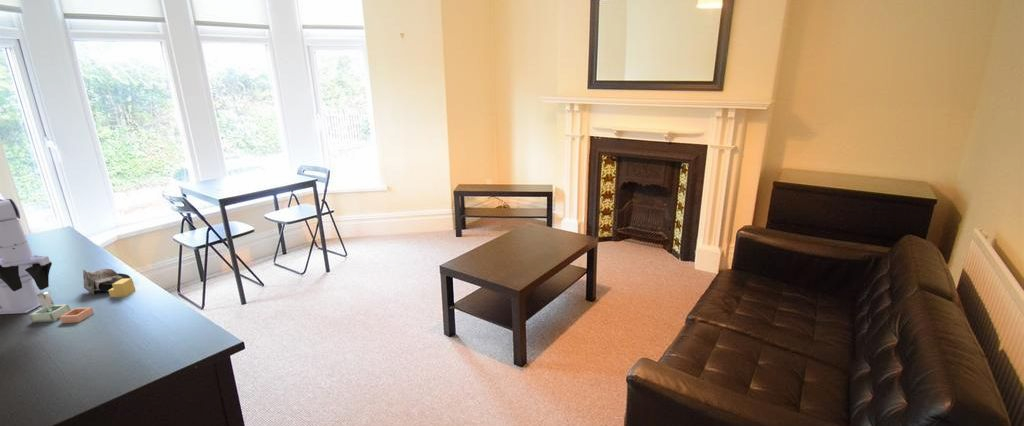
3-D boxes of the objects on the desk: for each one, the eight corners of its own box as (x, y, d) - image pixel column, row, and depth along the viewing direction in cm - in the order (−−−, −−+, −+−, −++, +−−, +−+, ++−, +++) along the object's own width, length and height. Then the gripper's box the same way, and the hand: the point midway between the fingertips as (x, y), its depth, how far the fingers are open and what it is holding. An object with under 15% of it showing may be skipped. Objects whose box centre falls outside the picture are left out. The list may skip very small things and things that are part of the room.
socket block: (61, 323, 135) (59, 316, 134) (77, 314, 139) (74, 308, 139) (79, 322, 134) (76, 316, 134) (93, 313, 139) (91, 307, 139)
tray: (32, 322, 136) (29, 314, 135) (49, 312, 141) (46, 305, 140) (54, 321, 136) (51, 313, 135) (71, 311, 141) (68, 304, 140)
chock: (110, 297, 149) (106, 284, 148) (120, 291, 153) (116, 279, 152) (126, 296, 149) (121, 283, 148) (135, 290, 153) (131, 278, 152)
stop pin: (42, 317, 137) (33, 295, 135) (51, 313, 139) (42, 291, 137) (51, 317, 137) (42, 295, 135) (59, 312, 139) (51, 291, 137)
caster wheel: (135, 292, 158) (99, 301, 149) (118, 280, 162) (81, 288, 154) (135, 274, 156) (98, 282, 147) (118, 262, 160) (80, 269, 152)
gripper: (-30, 251, 125) (-10, 296, 129) (24, 248, 125) (43, 294, 129) (-2, 241, 132) (16, 285, 136) (49, 238, 131) (66, 282, 136)
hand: (31, 288), depth 133 cm, fingers open, 7 cm apart
